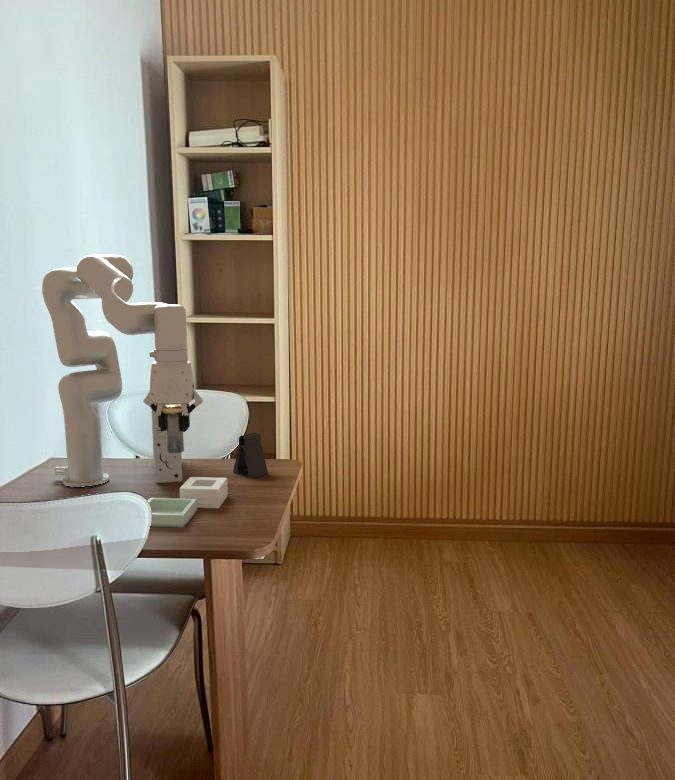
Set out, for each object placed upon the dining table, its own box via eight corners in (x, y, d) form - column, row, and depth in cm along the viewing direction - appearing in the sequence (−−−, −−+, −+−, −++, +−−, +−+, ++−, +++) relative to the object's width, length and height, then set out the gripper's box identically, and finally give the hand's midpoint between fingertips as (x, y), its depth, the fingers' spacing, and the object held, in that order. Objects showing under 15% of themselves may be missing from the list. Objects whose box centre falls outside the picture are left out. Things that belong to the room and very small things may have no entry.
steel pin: (161, 453, 175) (158, 408, 173) (167, 448, 181) (165, 404, 179) (184, 454, 175) (181, 408, 173) (189, 448, 180) (187, 404, 178)
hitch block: (180, 507, 185) (179, 488, 184) (191, 494, 195) (190, 476, 194) (218, 508, 184) (218, 489, 183) (227, 495, 194) (227, 477, 193)
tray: (134, 526, 172) (133, 513, 171) (150, 509, 184) (150, 497, 183) (183, 527, 171) (183, 515, 170) (197, 510, 183) (196, 499, 182)
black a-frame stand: (232, 472, 215) (231, 433, 213) (248, 468, 220) (247, 430, 218) (252, 478, 209) (251, 438, 207) (268, 474, 214) (267, 435, 211)
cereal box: (153, 463, 225) (150, 384, 221) (178, 461, 227) (175, 383, 223) (155, 483, 205) (151, 396, 200) (182, 481, 207) (179, 395, 202)
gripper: (131, 358, 170) (135, 433, 174) (202, 358, 170) (205, 434, 173) (141, 354, 178) (145, 426, 181) (209, 354, 177) (212, 427, 180)
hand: (174, 429), depth 177 cm, fingers closed on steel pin, 4 cm apart
